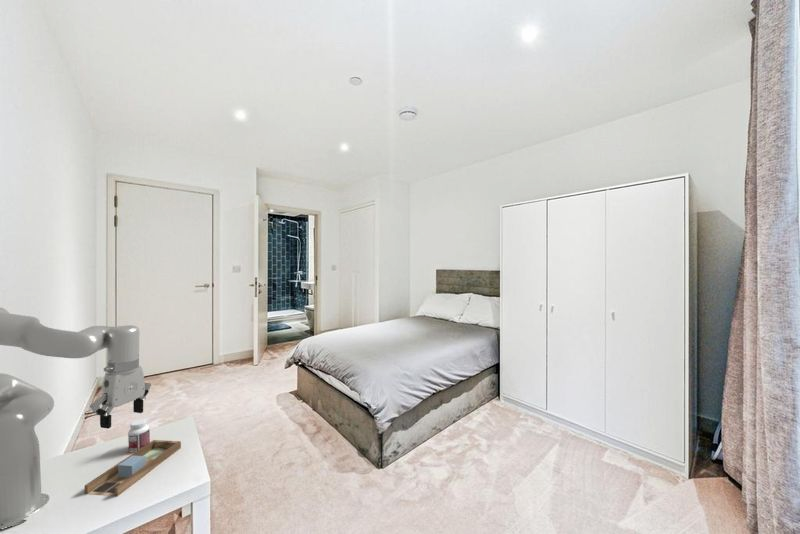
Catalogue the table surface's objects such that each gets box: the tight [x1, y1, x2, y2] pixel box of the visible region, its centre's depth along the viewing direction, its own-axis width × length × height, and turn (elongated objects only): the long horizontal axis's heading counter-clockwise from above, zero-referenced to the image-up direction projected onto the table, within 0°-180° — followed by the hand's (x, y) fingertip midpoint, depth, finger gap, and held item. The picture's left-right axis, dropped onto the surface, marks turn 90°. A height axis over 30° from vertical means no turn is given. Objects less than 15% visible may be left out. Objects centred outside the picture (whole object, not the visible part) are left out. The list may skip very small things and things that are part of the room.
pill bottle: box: [127, 418, 151, 454], centre depth 118 cm, size 6×6×11 cm
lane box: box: [84, 439, 182, 497], centre depth 107 cm, size 11×24×4 cm, turn 174°
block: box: [118, 454, 146, 478], centre depth 105 cm, size 5×5×4 cm
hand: (122, 419), depth 99 cm, fingers open, 9 cm apart
